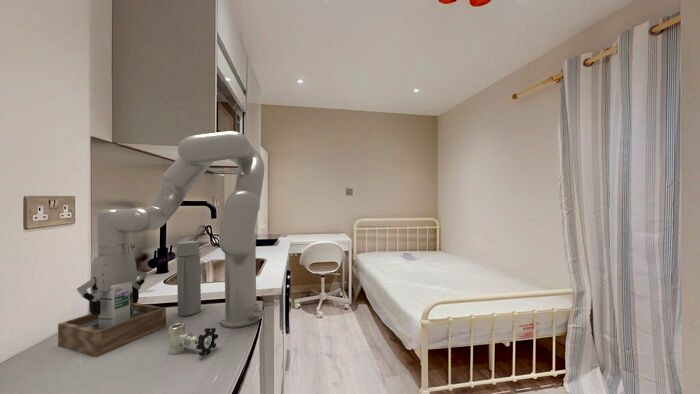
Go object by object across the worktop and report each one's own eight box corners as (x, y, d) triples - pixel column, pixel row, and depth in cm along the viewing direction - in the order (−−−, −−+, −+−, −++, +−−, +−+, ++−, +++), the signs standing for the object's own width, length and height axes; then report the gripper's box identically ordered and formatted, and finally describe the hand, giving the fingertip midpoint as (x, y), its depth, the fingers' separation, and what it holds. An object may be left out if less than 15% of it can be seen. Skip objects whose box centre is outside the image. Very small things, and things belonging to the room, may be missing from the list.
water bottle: (182, 309, 102) (181, 241, 102) (205, 308, 103) (204, 240, 103) (169, 320, 93) (168, 244, 93) (194, 318, 94) (193, 243, 94)
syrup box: (113, 337, 79) (113, 286, 79) (97, 335, 80) (97, 285, 81) (133, 328, 85) (133, 280, 85) (118, 327, 86) (118, 279, 86)
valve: (159, 357, 70) (199, 362, 67) (159, 330, 70) (199, 334, 67) (181, 344, 76) (218, 348, 73) (180, 319, 77) (218, 322, 74)
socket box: (166, 327, 87) (165, 307, 87) (95, 357, 71) (95, 333, 71) (130, 319, 94) (129, 301, 94) (58, 345, 77) (58, 323, 78)
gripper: (138, 245, 92) (139, 297, 92) (69, 255, 76) (70, 318, 76) (153, 246, 90) (154, 299, 89) (85, 256, 74) (86, 321, 73)
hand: (115, 308), depth 83 cm, fingers open, 9 cm apart
